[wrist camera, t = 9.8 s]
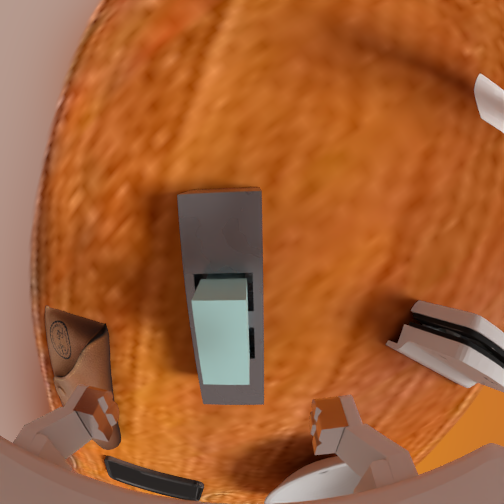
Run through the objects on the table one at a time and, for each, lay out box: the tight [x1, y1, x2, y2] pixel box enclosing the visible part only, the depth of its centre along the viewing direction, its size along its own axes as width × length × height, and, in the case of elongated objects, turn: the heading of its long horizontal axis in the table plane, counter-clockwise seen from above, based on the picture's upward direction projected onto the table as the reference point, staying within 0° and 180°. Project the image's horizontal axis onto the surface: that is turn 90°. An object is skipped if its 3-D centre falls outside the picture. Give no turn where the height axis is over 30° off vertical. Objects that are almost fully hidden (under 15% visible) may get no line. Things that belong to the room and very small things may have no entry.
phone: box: [104, 456, 204, 501], centre depth 30 cm, size 8×1×15 cm
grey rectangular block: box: [177, 187, 264, 405], centre depth 20 cm, size 16×5×4 cm, turn 1°
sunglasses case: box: [45, 305, 121, 450], centre depth 24 cm, size 18×7×7 cm, turn 168°
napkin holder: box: [386, 300, 504, 392], centre depth 20 cm, size 17×5×10 cm, turn 58°
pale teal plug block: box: [191, 273, 250, 385], centre depth 18 cm, size 6×3×6 cm, turn 1°
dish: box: [264, 456, 362, 504], centre depth 26 cm, size 18×14×5 cm
